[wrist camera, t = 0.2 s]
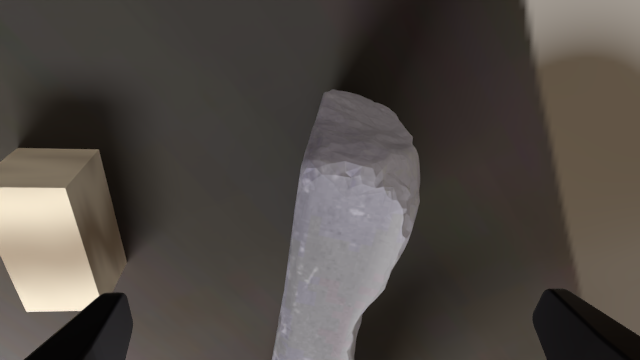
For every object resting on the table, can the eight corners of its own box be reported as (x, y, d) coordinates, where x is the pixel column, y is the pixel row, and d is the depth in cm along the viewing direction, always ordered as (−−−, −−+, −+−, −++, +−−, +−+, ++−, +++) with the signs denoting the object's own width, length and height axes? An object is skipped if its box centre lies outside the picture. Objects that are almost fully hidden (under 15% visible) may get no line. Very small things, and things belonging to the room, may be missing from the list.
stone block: (297, 64, 20) (308, 161, 11) (390, 80, 20) (466, 182, 12) (267, 247, 26) (259, 402, 17) (340, 254, 26) (366, 406, 18)
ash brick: (127, 260, 25) (103, 310, 22) (61, 260, 25) (26, 311, 22) (99, 147, 21) (65, 188, 18) (20, 146, 21) (-32, 187, 18)
